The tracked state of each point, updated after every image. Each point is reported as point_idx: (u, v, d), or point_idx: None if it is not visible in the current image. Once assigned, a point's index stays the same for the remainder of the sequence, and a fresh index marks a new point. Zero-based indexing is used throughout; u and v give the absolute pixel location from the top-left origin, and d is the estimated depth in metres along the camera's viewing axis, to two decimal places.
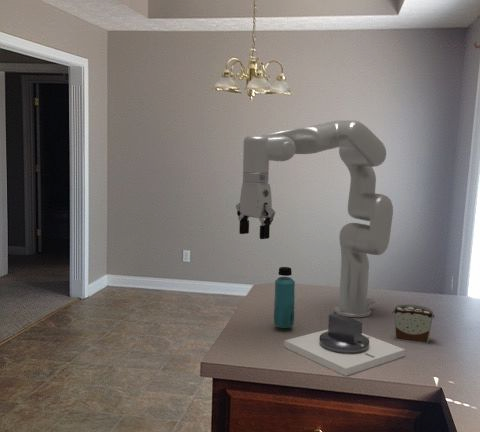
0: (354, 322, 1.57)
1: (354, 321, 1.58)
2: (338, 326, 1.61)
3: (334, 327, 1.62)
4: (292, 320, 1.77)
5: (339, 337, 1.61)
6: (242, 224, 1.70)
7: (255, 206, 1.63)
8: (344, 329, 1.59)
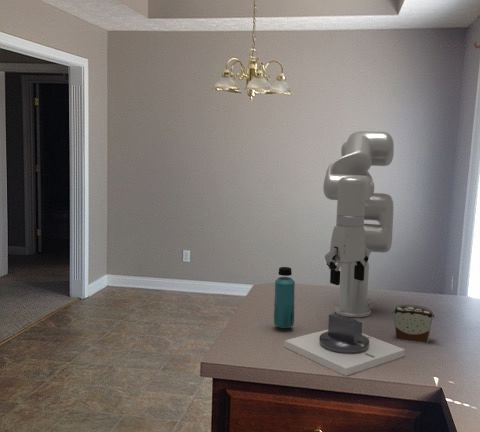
0: (354, 322, 1.57)
1: (354, 321, 1.58)
2: (338, 326, 1.61)
3: (334, 327, 1.62)
4: (292, 320, 1.77)
5: (339, 337, 1.61)
6: None
7: (362, 249, 1.58)
8: (344, 329, 1.59)
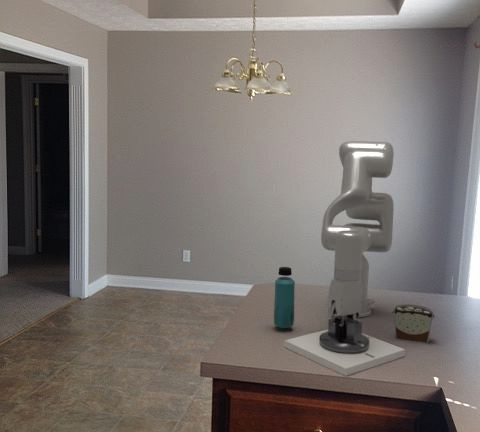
0: (354, 322, 1.57)
1: (354, 321, 1.58)
2: None
3: (334, 327, 1.62)
4: (292, 320, 1.77)
5: None
6: None
7: (359, 301, 1.60)
8: None
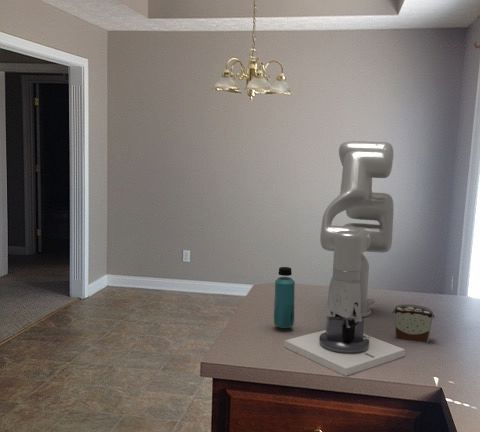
0: None
1: None
2: (342, 328, 1.59)
3: (336, 330, 1.59)
4: (292, 320, 1.77)
5: (343, 338, 1.60)
6: None
7: None
8: None
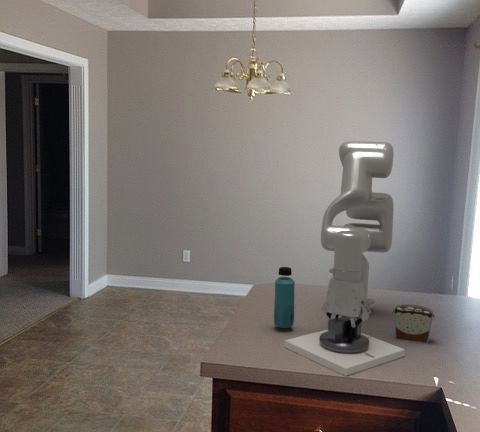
0: None
1: None
2: (345, 328, 1.59)
3: (341, 332, 1.58)
4: (292, 320, 1.77)
5: (346, 338, 1.60)
6: None
7: None
8: None
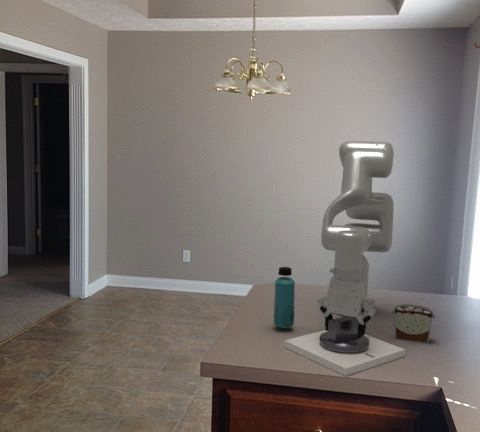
0: None
1: None
2: (346, 328, 1.59)
3: (341, 332, 1.58)
4: (292, 320, 1.77)
5: (347, 338, 1.60)
6: None
7: None
8: (351, 328, 1.60)
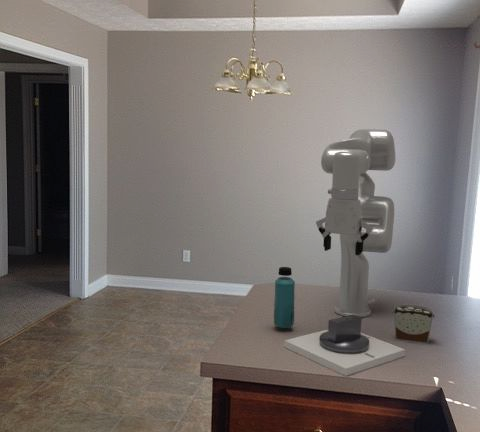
0: (355, 316, 1.62)
1: (353, 316, 1.63)
2: (346, 328, 1.59)
3: (341, 332, 1.58)
4: (292, 320, 1.77)
5: (347, 338, 1.60)
6: None
7: None
8: (351, 328, 1.60)
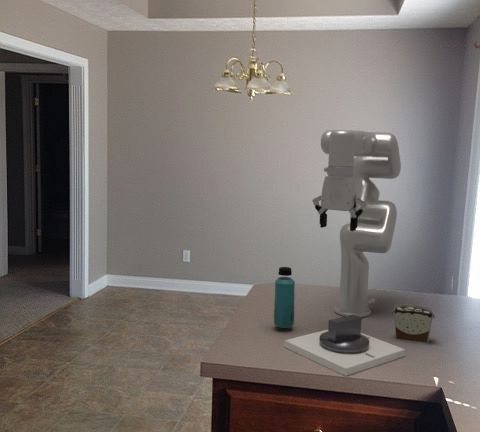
0: (355, 316, 1.62)
1: (353, 316, 1.63)
2: (346, 328, 1.59)
3: (341, 332, 1.58)
4: (292, 320, 1.77)
5: (347, 338, 1.60)
6: None
7: None
8: (351, 328, 1.60)
